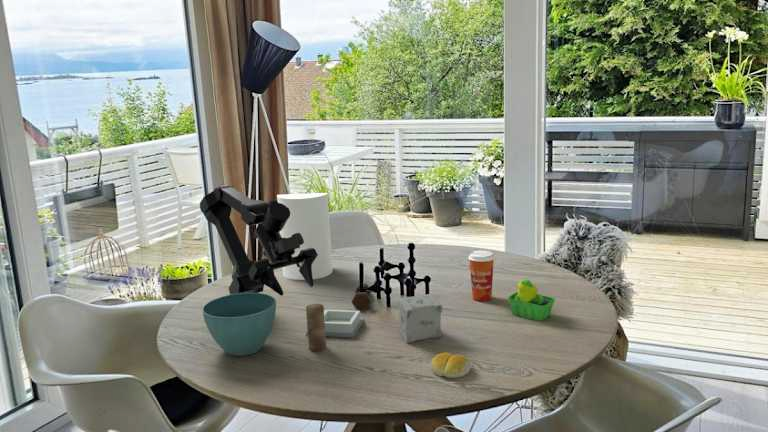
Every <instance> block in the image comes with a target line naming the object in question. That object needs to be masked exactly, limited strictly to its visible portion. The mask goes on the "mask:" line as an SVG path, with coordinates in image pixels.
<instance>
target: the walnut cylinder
mask: <svg viewBox="0 0 768 432" xmlns="http://www.w3.org/2000/svg"><path fill="white" fill-rule="evenodd" d="M324 308H325V307H324V305H323V304H321V303H312V304H308V305H306V308H305V311H306V312H305V313H306V326H307V330H308V336H307V339H308V340H307V341H308V350H309V351H311V352H322V351H324V350H326V349H327V339H326V337H327V336H325V321H324V311H325V309H324Z"/></svg>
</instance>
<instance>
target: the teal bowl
mask: <svg viewBox="0 0 768 432" xmlns="http://www.w3.org/2000/svg"><path fill="white" fill-rule="evenodd" d="M201 309H202V317H203V319H204V323H205V325H206V328H207V329H208V332H209V334H210V336H211V337H212V338H213V340H214V341H215V343H216V344H217V345H218V346H219V347H220V348H221V349H222V350H224V352H226V353H227V354H229V355H230V356H235V357H236V356H237V357H242V356H249V355H252V354H255V353H257V352H258V351H259V350H261V348H262V347H263V345H265V342H267V339H268V338H269V336H270V335H271V331H272V329H273V326H274V323H275V318H276V311H277V301H276V298H275V297H274V296H272V295H270V294H267V293H263V292H259V293H238V294H232V295H230V294H227V295H224V296H220V297H217V298H214V299H212V300H210V301H208V302H206V303H205V304H204V305H203V307H202V308H201Z"/></svg>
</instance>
